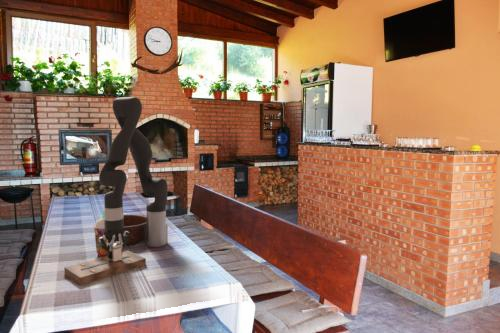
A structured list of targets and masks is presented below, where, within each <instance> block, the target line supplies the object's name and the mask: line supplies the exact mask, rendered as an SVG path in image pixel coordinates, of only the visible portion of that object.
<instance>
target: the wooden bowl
mask: <svg viewBox="0 0 500 333" xmlns="http://www.w3.org/2000/svg"><path fill="white" fill-rule="evenodd" d="M123 229H124V231H128V232H130V236H129V239H128V242H127V245H126V246H131V245H136V244H140V243H142V242H144V241H145V240H147V215H142V214H124V228H123ZM122 239H123V236H122ZM114 243H116V242H114Z"/></svg>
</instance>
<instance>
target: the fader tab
mask: <svg viewBox="0 0 500 333" xmlns="http://www.w3.org/2000/svg"><path fill="white" fill-rule="evenodd" d="M121 248H122V246H121V245H119V244H117V243H114V245H113V247H112V251H113V259H112V261H114V262H115V261H118V260H122V252H123V248H122V250H121Z"/></svg>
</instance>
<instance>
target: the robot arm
mask: <svg viewBox="0 0 500 333" xmlns="http://www.w3.org/2000/svg"><path fill="white" fill-rule="evenodd" d="M142 111H143V105H142V102H141V100H140V99H139V98H138V97H136V96H129V97H127V96H126V97H125V96H124V97H116V98H115V99H113V101H112V112H113V114H114V117H115V118H116V121H117V122H118V125H119V127H120V129H121V130H120V131H118V133H117V134H116V136H115V137H114V139H113V141H112V142H111V145H110V148H109V153H108V157H107V159H106V161H105V164H104V165H103V167H102V168H101V170H100V172H99V175H98V179H99V184H101V185H102V186H103V187H110V188H111V187H112V188H113V187H114V190H112V191H108V192H106V193H104V211H103V212H104V227H105V233H104V235H103V236H102V237H98V241H99V243H100V245H101V247H102V249H103V250H105V251H107V257H108V258H109V259H110V260H112V259H113V251H112V247H113V245H114V242H116V243H117V244H119V245H121V246H122V248H121V250H122V251H123V248H124V247H126V246H128V245H127V242H128V239H129V236H130V232H128V231H124V229H123V228H124V215H125V214H124V205H123V204H124V203H123V202H124V201H123V196H124V192H125V186H126V184H127V181H128V177H127V174H126V172H125V171H124V170H122V169H116V168H118V167H120V166H124V165H125V164H126V163H127V162H126V161H127V157H128V153H129V152H130V154H131V157H132V159H133V162H134V164H135V168H136V171H137V173H138V177H139V182H140V185H141V190H142V192H143V194H144V195H145V196H148V197H153V198H154V201H153V202H149V203H148V204H147V205H146V207H145V208H146V217H147V237H146V246H148V247H151V248H158V247H163V246H165V245H167V244H168V242H169V241H168V240H169V238H168V235H169V234H168V233H169V230H168V229H169V228H168V226H169V224H167V216H166V215H167V213H166V211H167V203H168V191H169V190H168V187H169V186H168V182H167V180H166V179H165V178H163V177H162V178H161V177H153V175H152V172H151V170H150V168H151V167H150V166H151V164H152V160H153V150H152V147H151V144H150V142H149V140H148V138H147V137H146V136H145V135H144V134H143V133H142V132H141V131H140V130H139V129H138V128H137V125H138V123H139V120H140V118H141V117H142V116H141V115H142ZM122 236H123V239H122ZM105 238H106V239H107V245H106V243H105Z"/></svg>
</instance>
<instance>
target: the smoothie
mask: <svg viewBox="0 0 500 333" xmlns="http://www.w3.org/2000/svg"><path fill="white" fill-rule="evenodd" d="M93 227H94V228H93V230H94V239H95V249H96V254H97V256H98V257H100V258H102V257H105V256H107V251H105V250H103V249H102V247H101V245H100V243H99V241H98V237H102V236H103V235H104V233H105V227H104V211H102V217H100V218H99V219H97V220H96V222H95V224H94V226H93ZM105 243H106V245H107V239H106V238H105Z"/></svg>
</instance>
